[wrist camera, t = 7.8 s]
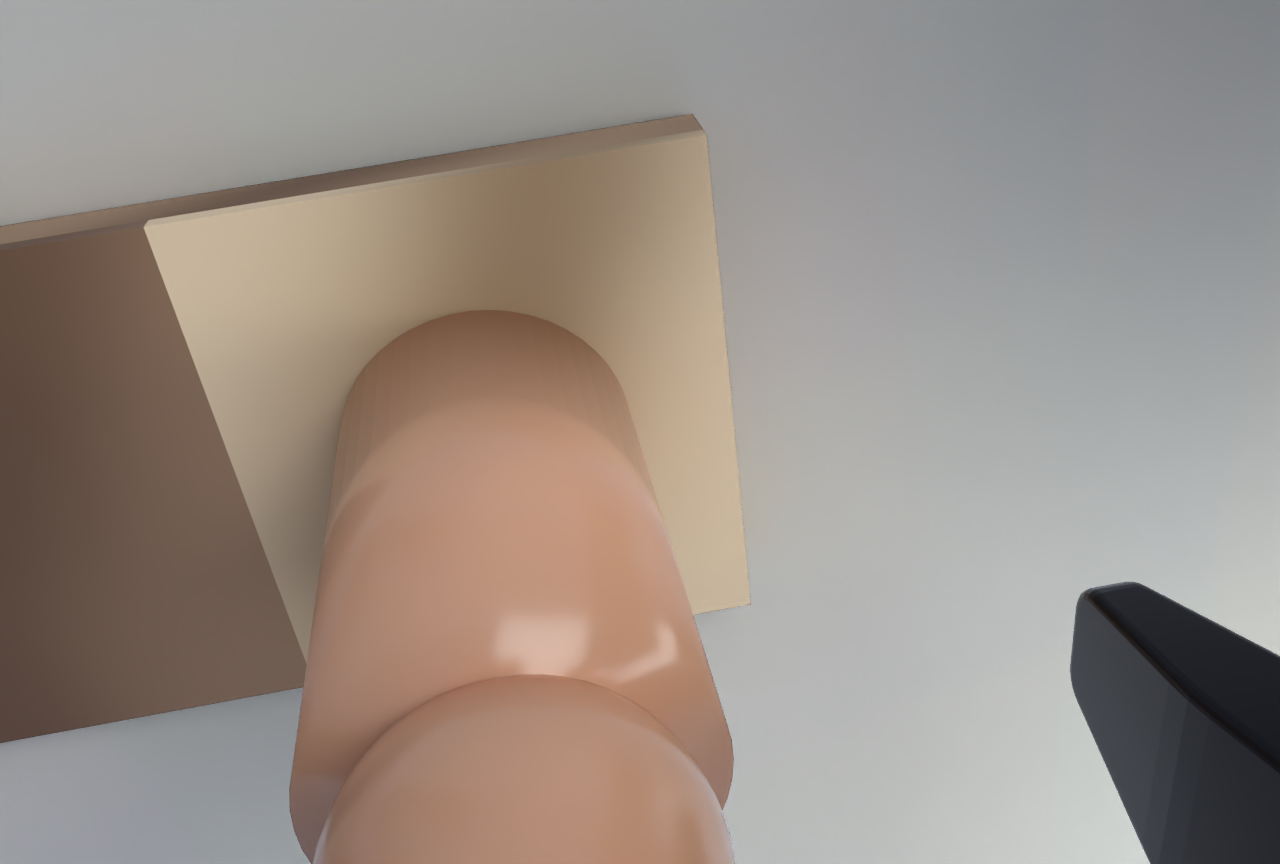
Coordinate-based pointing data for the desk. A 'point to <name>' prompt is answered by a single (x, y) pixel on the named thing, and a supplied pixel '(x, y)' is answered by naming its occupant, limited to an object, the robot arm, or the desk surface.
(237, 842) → the desk surface
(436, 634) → the tan rounded peg
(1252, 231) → the desk surface
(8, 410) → the track
